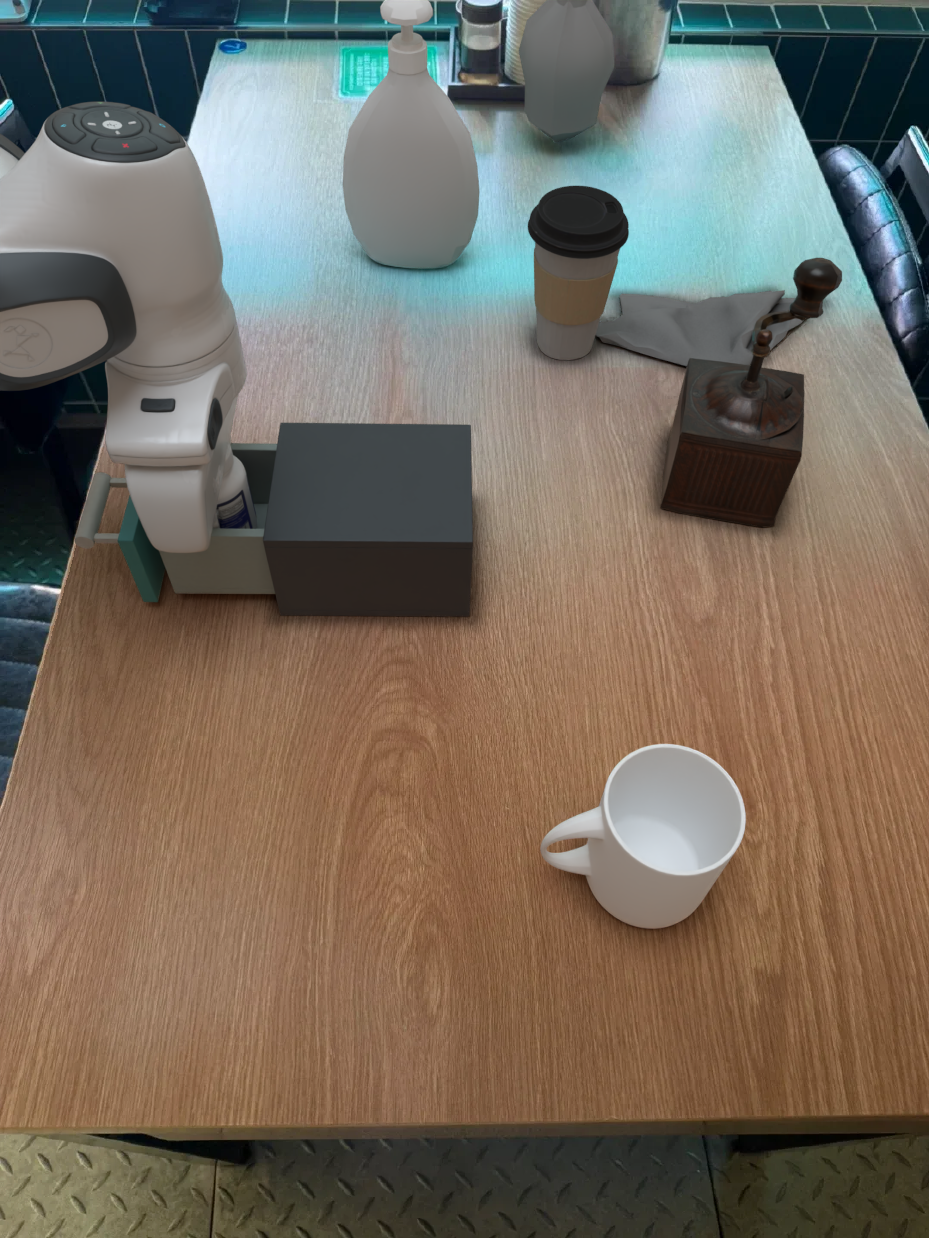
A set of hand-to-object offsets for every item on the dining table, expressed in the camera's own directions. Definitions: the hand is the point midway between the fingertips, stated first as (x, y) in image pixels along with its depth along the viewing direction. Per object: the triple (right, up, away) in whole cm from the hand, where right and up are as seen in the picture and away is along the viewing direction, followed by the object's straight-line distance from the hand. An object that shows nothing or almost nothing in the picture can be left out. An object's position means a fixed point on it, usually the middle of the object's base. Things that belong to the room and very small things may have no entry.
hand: (216, 498), depth 75 cm
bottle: (+32, +52, +47) cm, 77 cm away
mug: (+31, -27, -9) cm, 42 cm away
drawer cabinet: (+12, -4, +6) cm, 14 cm away
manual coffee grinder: (+44, +5, +14) cm, 47 cm away
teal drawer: (-1, -4, +5) cm, 7 cm away
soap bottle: (+14, +32, +32) cm, 47 cm away
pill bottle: (0, -2, +3) cm, 4 cm away
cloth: (+46, +21, +25) cm, 56 cm away
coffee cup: (+30, +19, +24) cm, 43 cm away
